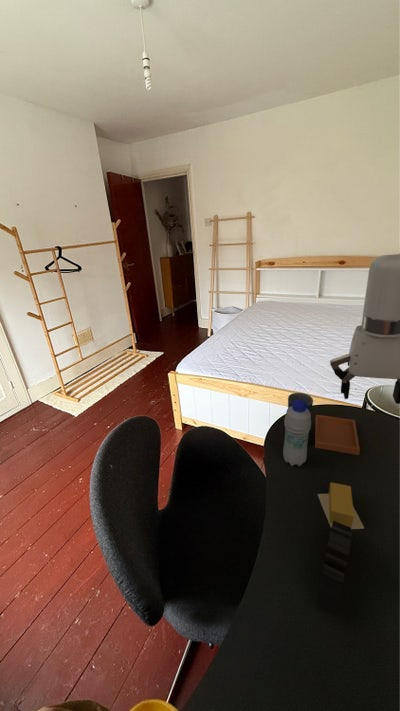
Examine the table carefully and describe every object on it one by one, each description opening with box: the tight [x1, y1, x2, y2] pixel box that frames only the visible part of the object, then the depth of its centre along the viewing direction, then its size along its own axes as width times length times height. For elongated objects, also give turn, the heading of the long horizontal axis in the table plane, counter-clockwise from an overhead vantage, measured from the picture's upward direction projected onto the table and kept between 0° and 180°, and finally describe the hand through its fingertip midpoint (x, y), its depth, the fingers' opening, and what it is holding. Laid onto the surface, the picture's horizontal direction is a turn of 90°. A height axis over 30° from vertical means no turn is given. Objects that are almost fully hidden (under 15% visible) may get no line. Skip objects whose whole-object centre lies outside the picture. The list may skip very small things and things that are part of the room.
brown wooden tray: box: [314, 414, 361, 456], centre depth 91 cm, size 14×12×2 cm
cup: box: [287, 392, 314, 414], centre depth 87 cm, size 7×7×15 cm
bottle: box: [282, 400, 312, 467], centre depth 79 cm, size 7×7×20 cm
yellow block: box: [328, 481, 354, 527], centre depth 68 cm, size 8×4×4 cm, turn 160°
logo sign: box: [314, 520, 353, 619], centre depth 56 cm, size 18×4×11 cm, turn 149°
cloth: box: [317, 493, 365, 530], centre depth 69 cm, size 7×9×1 cm
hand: (370, 397), depth 64 cm, fingers open, 9 cm apart
